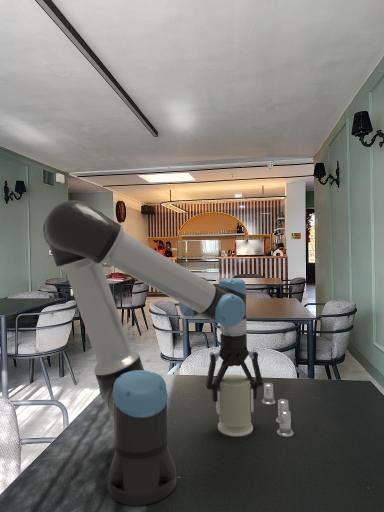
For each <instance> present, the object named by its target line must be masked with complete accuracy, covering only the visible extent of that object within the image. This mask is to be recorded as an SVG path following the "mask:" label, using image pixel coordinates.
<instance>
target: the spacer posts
mask: <svg viewBox="0 0 384 512" xmlns="http://www.w3.org/2000/svg"><path fill="white" fill-rule="evenodd" d="M261 402H262V403H263V404H264V405H271V406H272V405H275V404H276V400H275V398H274V384H273V383H272V382H264V383H263V398H262V400H261ZM291 414H292V413H291V411H290V410H289V400H288V399H285V398H279V399H278V400H277V417H276V418H275V422H276V423H277V424H279V428H278V429H277V430H276V432H277V435H278V436H281V437H284V438H290V437H292V436H293V435H294V430H292V427H291V426H292V417H291Z"/></svg>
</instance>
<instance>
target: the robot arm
mask: <svg viewBox="0 0 384 512" xmlns="http://www.w3.org/2000/svg"><path fill="white" fill-rule="evenodd" d="M123 227H124V226H123V225H121V224H120V223H118V222H117V221H115V220H113V219H112V218H110V217H109V216H107V215H105V214H104V213H102V212H101V211H100V210H98V209H97V208H95V207H93V206H92V205H90V204H88V203H86V202H83V201H81V200H76V199H75V200H73V199H72V200H66V201H65V200H64V201H63V202H60V203H58V204H57V205H55V206H54V207H53V208H52V209H51V210H50V212H49V214H48V215H47V216H46V217H45V220H44V223H43V229H42V233H43V239H44V240H45V242H46V244H47V245H48V247H49V249H50V252H51V255H52V257H53V260H54V263H55V266H56V268H57V269H59V270H62V271H63V272H65V274H66V277H67V280H68V282H69V285H70V288H71V291H72V293H73V297H74V300H75V302H76V305H77V308H78V310H79V314H80V316H81V319H82V321H83V324H84V327H85V330H86V333H87V335H88V339H89V342H90V345H91V348H92V350H93V353H94V355H95V358H96V362H97V363H96V364H95V366H94V369H93V372H94V375H95V378H96V381H97V383H98V387H99V388H98V389H99V394H100V396H101V399H102V400H103V401H104V403H105V405H106V407H107V409H108V411H109V412H110V414H111V416H112V418H113V423H114V424H113V429H114V454H113V457H112V460H111V464H110V467H109V470H108V475H107V492H108V494H109V496H110V497H111V498H112V500H114V501H116V502H118V503H120V504H123V505H127V506H145V505H146V504H147V505H151V504H154V503H157V502H160V501H161V500H164V499H165V498H167V497H168V496H169V495H170V494H171V493H172V492H173V491H174V489H175V488H176V485H177V469H176V466H175V465H176V464H175V463H174V459H173V457H172V454H171V452H170V448H169V444H168V443H169V442H168V439H169V437H168V434H169V433H168V390H167V384H166V381H165V379H164V378H163V377H162V376H161V375H160V374H158V373H157V372H154V371H152V372H150V370H146V369H144V365H143V363H142V360H141V357H140V355H139V352H138V351H136V350H134V349H131V346H130V343H129V341H128V338H127V335H126V332H125V329H124V326H123V323H122V320H121V317H120V314H119V310H118V308H117V306H116V303H115V299H114V296H113V294H112V289H111V287H110V285H109V282H108V279H107V276H106V273H105V269H104V268H103V267H104V266H103V264H108V265H110V266H112V267H114V268H115V269H117V270H119V271H121V272H122V273H124V274H127V276H131V277H132V278H134V279H136V280H138V281H139V282H141V283H143V284H145V285H146V286H148V287H151V288H153V289H154V290H156V291H158V292H160V293H162V294H164V295H165V296H168V297H170V298H171V299H173V300H175V301H177V302H178V306H179V307H178V308H179V310H180V313H181V315H182V316H183V317H186V318H195V317H201V318H203V319H207V320H210V321H212V322H215V323H217V324H219V325H220V327H219V328H220V329H219V330H220V335H219V338H220V341H219V343H220V349H219V352H210V353H209V359H210V360H209V361H210V362H209V365H208V371H207V377H206V380H205V386H206V388H207V390H211V391H212V392H211V393H212V397H211V398H212V400H213V402H214V403H216V404H215V407H216V409H215V411H216V413H217V415H219V414H221V408H220V390H219V385H220V382H221V381H222V379H223V377H224V376H225V375H226V372H227V371H228V369H229V367H234V366H235V367H241V368H242V371H243V372H244V374H245V376H246V377H247V378H248V379H249V380H250V413H254V400H256V399H257V396H258V395H257V390H258V388H259V387H262V386H264V383H263V377H262V373H261V369H260V365H259V361H258V359H259V352H257V351H256V350H254V349H252V350H249V349H248V338H247V337H248V334H246V332H247V330H248V329H247V328H248V327H247V289H246V288H247V287H246V282H245V280H244V279H241V278H224V279H223V278H222V279H220V280H219V283H218V286H216V285H214V284H213V283H211V282H209V281H208V280H206V279H204V278H203V277H201V276H199V275H197V274H196V273H194V272H192V271H190V270H189V269H188V268H186V267H184V266H182V265H180V264H179V263H177V262H175V261H174V260H172V259H170V258H168V257H167V256H166V255H163V254H162V253H160V252H158V251H157V250H155V249H153V248H152V247H150V246H148V245H146V244H144V243H143V242H141V241H140V240H138V239H136V238H135V237H134V236H133V237H132V236H131V235H129V234H127V233H126V232H125V231H124V228H123ZM248 356H249V358H250V360H251V363H252V367H253V368H252V369H253V373H254V376H255V380H254V377H253V376H252V373H251V372H250V370H249V368H248V365H247V364H246V362H245V360H247V358H248ZM219 358H221V360H222V361H221V364H220V367H219V370H218V372H217V374H216V376H215V378H214V375H215V370H216V365H217V362H218V360H219ZM213 380H214V381H213Z"/></svg>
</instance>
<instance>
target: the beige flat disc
mask: <svg viewBox="0 0 384 512" xmlns="http://www.w3.org/2000/svg"><path fill="white" fill-rule="evenodd" d="M217 430H218V431H219V432H220V433H221V434H223V435H226V436H230V437H236V438H237V437H244V436H248V435H249V434H251V433H252V432H253V431H254V425H253V423H252V421H251V422H250V423H249V424H248V425H246V426H242V427H230V426H226V425H224V424H222V423H221V422H220V421H219V422H218V424H217Z"/></svg>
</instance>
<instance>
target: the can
mask: <svg viewBox="0 0 384 512" xmlns="http://www.w3.org/2000/svg"><path fill="white" fill-rule="evenodd" d="M250 386H251V384H250V380H249V379H248V378H247V376H246V375H241V374H227V375H226V374H224V377H223V379H222V381H221V382H220V385H219V390H220V408H221V414H218V420H219V422H221V423H222V424H224V425H226V426H230V427H242V426H246V425H248V424H249V423H250V422H251V423H252V416H251V415H252V414H251V413H252V412H251V411H250Z"/></svg>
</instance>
